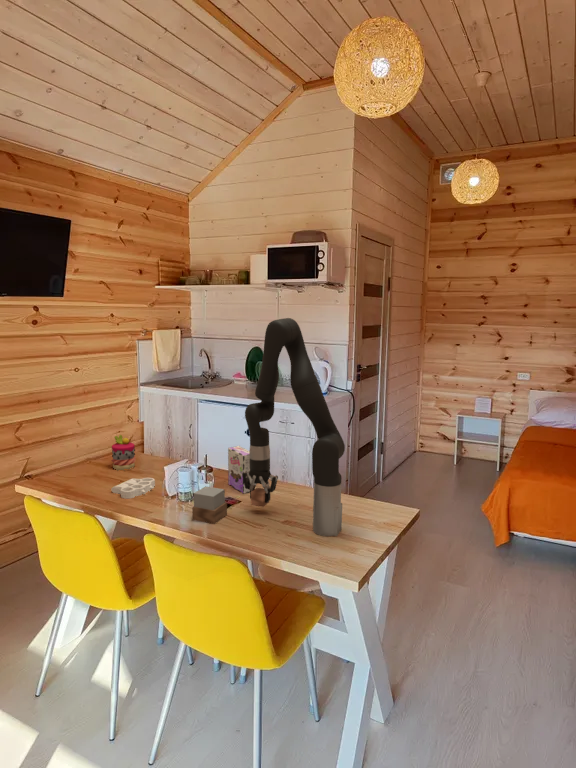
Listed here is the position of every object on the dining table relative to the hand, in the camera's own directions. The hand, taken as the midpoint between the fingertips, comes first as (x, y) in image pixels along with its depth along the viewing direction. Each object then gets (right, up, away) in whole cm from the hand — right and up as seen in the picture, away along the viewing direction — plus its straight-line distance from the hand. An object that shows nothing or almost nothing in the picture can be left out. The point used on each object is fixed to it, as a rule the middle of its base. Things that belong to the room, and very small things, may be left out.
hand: (260, 500), depth 189 cm
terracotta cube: (0, -1, 0) cm, 1 cm away
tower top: (-18, 0, -5) cm, 19 cm away
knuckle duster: (-53, -1, +21) cm, 57 cm away
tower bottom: (-18, -5, -5) cm, 19 cm away
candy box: (-9, -1, +26) cm, 28 cm away
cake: (-67, +4, +52) cm, 85 cm away
